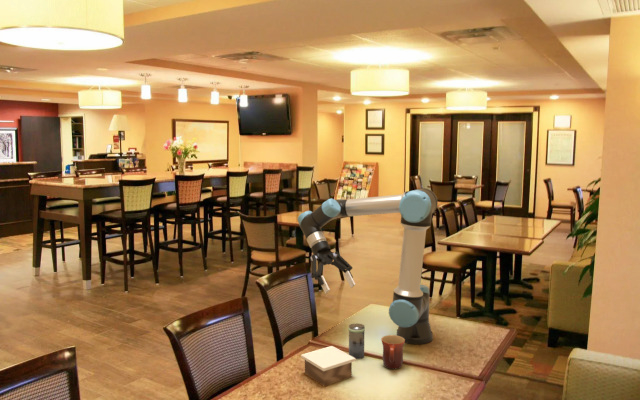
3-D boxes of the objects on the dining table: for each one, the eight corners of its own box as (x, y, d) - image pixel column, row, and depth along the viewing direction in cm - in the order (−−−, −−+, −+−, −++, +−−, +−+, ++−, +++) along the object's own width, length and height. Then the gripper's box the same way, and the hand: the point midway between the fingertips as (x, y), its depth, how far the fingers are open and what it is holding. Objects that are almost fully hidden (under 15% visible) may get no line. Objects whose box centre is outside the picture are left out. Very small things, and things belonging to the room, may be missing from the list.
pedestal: (331, 363, 194) (331, 345, 193) (355, 377, 183) (355, 358, 182) (300, 373, 186) (300, 354, 185) (323, 388, 175) (323, 368, 174)
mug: (381, 360, 197) (382, 334, 196) (405, 362, 195) (405, 335, 194) (379, 373, 185) (379, 346, 184) (403, 376, 184) (404, 348, 182)
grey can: (357, 351, 205) (357, 322, 204) (367, 356, 200) (368, 326, 199) (345, 355, 202) (345, 325, 200) (355, 360, 197) (355, 330, 195)
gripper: (337, 246, 226) (358, 288, 216) (290, 253, 210) (311, 298, 200) (345, 236, 221) (368, 279, 211) (298, 242, 205) (320, 289, 196)
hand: (340, 288), depth 206 cm, fingers open, 13 cm apart
